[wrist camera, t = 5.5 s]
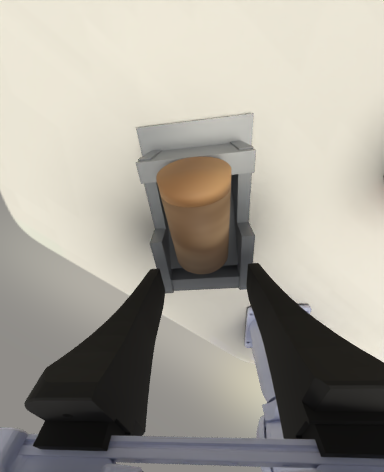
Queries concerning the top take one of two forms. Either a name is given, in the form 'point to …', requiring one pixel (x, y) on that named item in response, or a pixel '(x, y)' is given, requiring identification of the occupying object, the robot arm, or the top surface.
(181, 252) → the dowel
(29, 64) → the top surface
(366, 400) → the robot arm
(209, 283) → the socket
